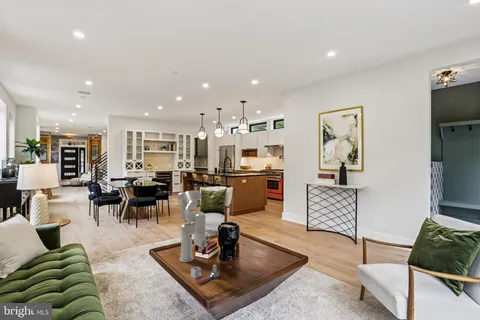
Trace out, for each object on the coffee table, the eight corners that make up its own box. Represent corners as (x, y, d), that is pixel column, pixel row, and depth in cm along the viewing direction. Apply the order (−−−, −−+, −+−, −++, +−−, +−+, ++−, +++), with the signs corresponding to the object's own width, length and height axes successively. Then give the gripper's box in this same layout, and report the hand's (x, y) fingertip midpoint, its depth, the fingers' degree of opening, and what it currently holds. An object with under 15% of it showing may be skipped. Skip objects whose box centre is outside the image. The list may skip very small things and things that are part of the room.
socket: (190, 276, 190) (191, 268, 190) (196, 274, 194) (196, 266, 193) (195, 278, 186) (195, 270, 186) (201, 276, 190) (201, 268, 190)
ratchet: (194, 282, 181) (194, 270, 180) (214, 273, 195) (215, 262, 195) (200, 285, 176) (200, 273, 176) (221, 276, 191) (221, 265, 190)
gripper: (190, 228, 193) (189, 250, 193) (202, 233, 181) (202, 257, 181) (198, 227, 199) (198, 248, 198) (211, 231, 186) (210, 254, 186)
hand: (200, 252), depth 190 cm, fingers open, 9 cm apart
